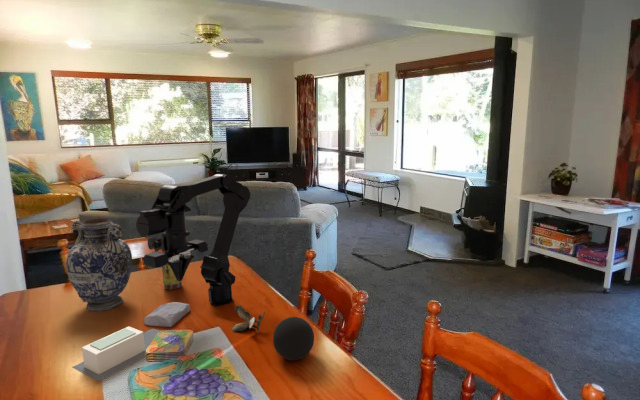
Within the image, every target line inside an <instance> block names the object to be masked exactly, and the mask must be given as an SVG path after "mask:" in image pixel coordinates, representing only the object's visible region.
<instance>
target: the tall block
mask: <svg viewBox="0 0 640 400" xmlns="http://www.w3.org/2000/svg"><path fill="white" fill-rule="evenodd" d="M143 333H144V331H142V330H140V329H136V328H134V327H132V326H126V327H125V328H122V329H120V330H118V331H115V332H113V333H111V334H109V335H107V336H104V337H102V338H99V339H97V340H95V341H93V342H91V343H88V344H86V345H84V346H82V347H81V352H82V360H83V361H82V362H84V367H85V368H87V369H89V370H91V371H93V372H95V373H97V374H101V373H103V372H105V371H106V370H108V369H110V368H112V367H114V366H116V365H118V364H120V363H122V362H124V361H126V360H128V359H129V358H131V357H133V356H135V355H137V354H139V353H141V352H143V351H145V344H144V334H143Z"/></svg>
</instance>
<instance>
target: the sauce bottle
mask: <svg viewBox="0 0 640 400" xmlns="http://www.w3.org/2000/svg"><path fill="white" fill-rule="evenodd" d="M166 252H167V251H162V250H161V253H166ZM161 270H162V281H163V287H164V289H166V290H170V291H171V290H172V289H173V290H177V288H178V289H179V288H180V289H181V287H182V285H183V283H182V281H177V279H176V277H175V275H174V273H173V271H172V269H171V267H170V266H169V265H168V264H167V265H164V266H161Z"/></svg>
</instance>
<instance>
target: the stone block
mask: <svg viewBox="0 0 640 400" xmlns="http://www.w3.org/2000/svg"><path fill="white" fill-rule="evenodd" d="M190 311H191V307H190V304H189V303H185V302H184V303H183V302H180V301H178V302H177V301H175V302H174V301H172V302H168V303H163V304H161V305H159V306H158V307H156V308H154V310H152V311H151V313H149V314H148V315H147V316H145V317H144V321H143V323H144V324H145V325H146V326H155V327H169V328H170V327H173V326H174V325H175V324H176V323H177V322H178V321H180V320H182V319H183V317H184V316H186V315H187V314H188V313H189V312H190Z"/></svg>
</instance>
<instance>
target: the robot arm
mask: <svg viewBox="0 0 640 400" xmlns="http://www.w3.org/2000/svg"><path fill="white" fill-rule="evenodd" d="M215 190H218V192H219V193H220V194H221V195H222V196H223V198H222V203H223V206H224V207H223V208H224V211H223V215H222V218H221V222H220V224H219V228H218V232H217V235H216V238H215V242H214V246H213V249H212V251H211V253H210V254H209V255H204V256H203V258H202V264H201V265H200V266H199V267H200V275H201V276H202V278H203V279H204V280H205V282H206V284H209V288H208V289H207V290H208V291H207V293H208V300H209V302H210V303H211V304H212V305H213V306H214V307H219V306H222V305H226V304H230V303H233V302H235V300H234V298H233V293H232V292H233V291H232V289H233V288H232V285H234V284H235V283H236V276H235V274H233V273H231V271H230V266H231V264H230V261H229V252H230V248H231V245H232V242H233V238H234V234H235V230H236V228H237V224H238V221H239V216H240V213H241V212H242V211H243V210H244V209H246V208H247V205H248V203H249V200H250V199H251V191H250V190H249V188H248V186H246V185H243V184H242V183H240V182H238V181H236V180H234V179H233V178H232V177H231V176H229V175H228V174H227V173H226V174H225V173H223V174H222V173H216V174H214V175H212V176H208V177H205V178H202V179H197V180H195V181H191V182H187V183H175V184H174V183H173V184H172V183H171V184H164V185H162V186H161V187H160V188H159V190H158V195H157V196H156V199H155V200H154V202H153V204H152V205H151V209H150V210H141V211H139V216H138V218H137V219H136V222H135V227H136V230H137V232H138V235H139V236H141V237H143V238H145V237H146V238H147V237H150V236H153V235H158V234H161V237H160V238H157V237H156V236H154V237H151V238H148V239H147V247H148V249H149V250H151V251H152V250H154V251H153V252H149V253H146V254H145V255H144V257H143V265H145V266H148V267H152V268H162V266H164V265H167V264H168V265H169V266H170V267H171V269H172V271H173V273H174V275H175V277H176V279H177V281H181V282H182V281H183V279H184V277H185V274H186V272H187V270H188V267H189V265H190V263H191V262H192V260H193V259H194V258H195V255H191V254H192V253H191V252H193V251H198V252H199V253H205V252H207V251H209V245H208V242H207V241H205V240H200V239H193V240H190V241H188V237H187V236H190V231H188V230H187V224H186V213H188V212H191V211H192V209H191V208H190V207H189V206H188V205H187V204H188V203H190V202H191V201H192V199H194V198H195V197H197V196H200V195H201V196H202V195H203V194H207V193H209V192H212V191H215ZM160 250H161V252H159V251H160ZM162 251H167V252H166V253H162Z"/></svg>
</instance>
